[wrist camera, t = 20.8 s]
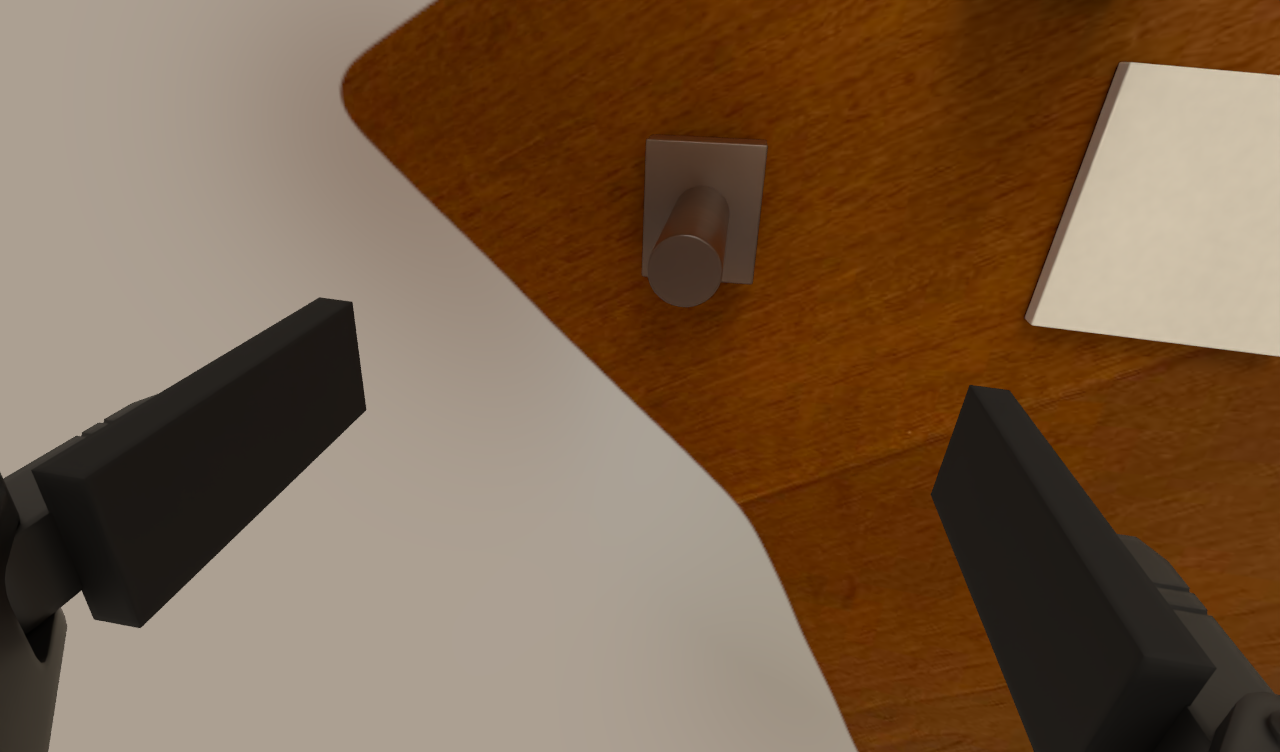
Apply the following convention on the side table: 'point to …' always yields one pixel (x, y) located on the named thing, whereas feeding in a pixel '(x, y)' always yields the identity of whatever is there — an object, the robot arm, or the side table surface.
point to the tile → (1174, 215)
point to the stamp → (701, 214)
